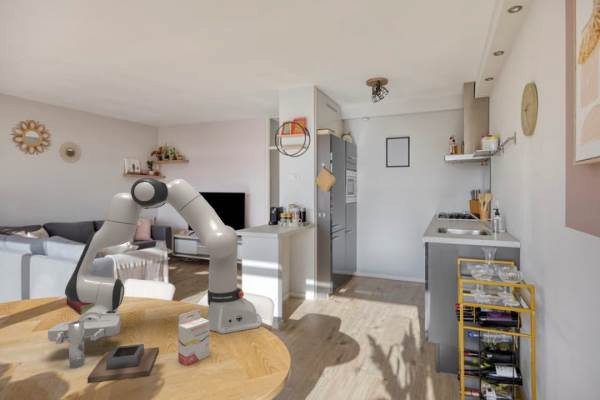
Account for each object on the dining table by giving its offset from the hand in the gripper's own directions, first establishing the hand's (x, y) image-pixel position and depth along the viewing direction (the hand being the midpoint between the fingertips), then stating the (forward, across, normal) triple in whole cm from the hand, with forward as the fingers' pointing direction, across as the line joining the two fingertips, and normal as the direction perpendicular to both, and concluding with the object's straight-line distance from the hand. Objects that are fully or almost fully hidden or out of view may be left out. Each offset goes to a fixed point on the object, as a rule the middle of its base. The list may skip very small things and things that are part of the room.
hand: (76, 339), depth 103 cm
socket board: (+4, +15, +8) cm, 17 cm away
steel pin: (0, 0, +8) cm, 8 cm away
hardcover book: (-59, -18, +9) cm, 62 cm away
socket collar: (+4, +15, +6) cm, 17 cm away
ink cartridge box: (+4, +35, +8) cm, 36 cm away
